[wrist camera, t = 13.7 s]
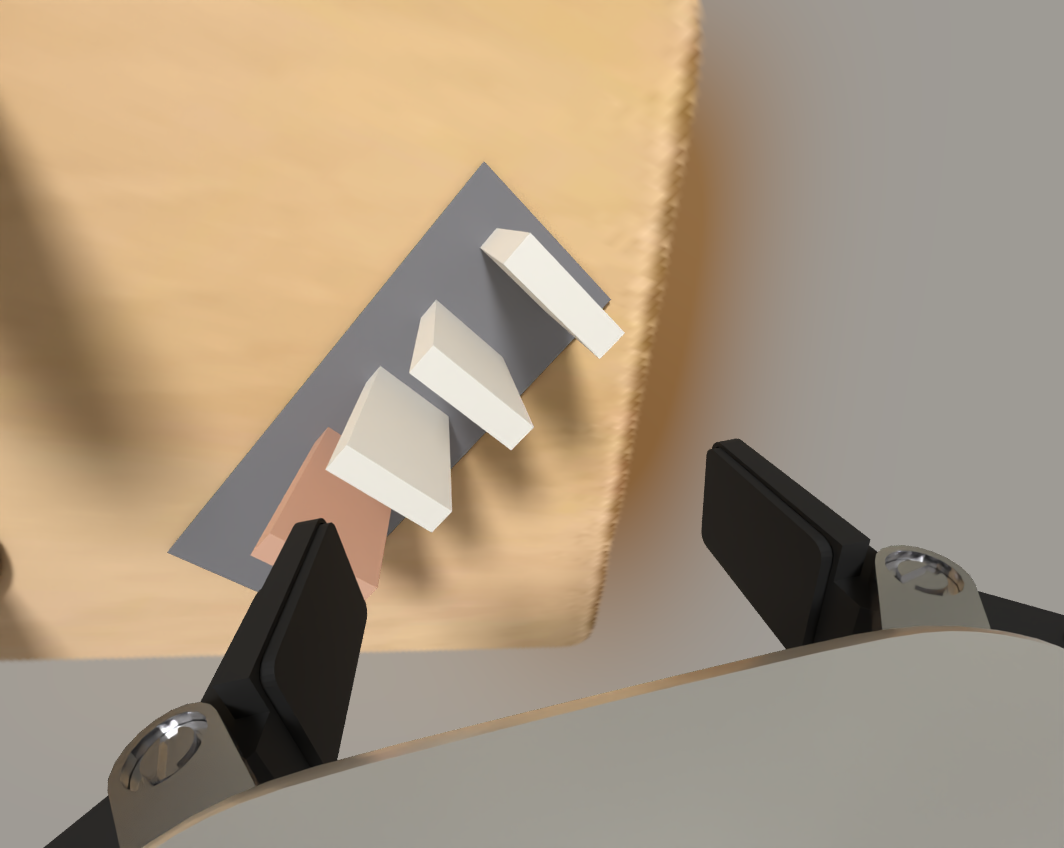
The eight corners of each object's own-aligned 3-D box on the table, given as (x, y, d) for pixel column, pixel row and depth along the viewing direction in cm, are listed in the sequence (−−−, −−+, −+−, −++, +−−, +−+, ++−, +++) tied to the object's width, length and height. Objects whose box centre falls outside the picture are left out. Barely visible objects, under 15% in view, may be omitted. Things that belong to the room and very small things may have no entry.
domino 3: (436, 299, 29) (433, 345, 19) (502, 357, 32) (533, 426, 21) (420, 317, 30) (409, 372, 19) (487, 373, 32) (511, 450, 21)
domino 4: (496, 228, 28) (530, 232, 17) (560, 293, 31) (625, 332, 20) (480, 247, 28) (503, 264, 18) (544, 311, 31) (599, 359, 20)
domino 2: (380, 365, 30) (346, 444, 20) (448, 416, 33) (452, 511, 22) (366, 382, 31) (325, 469, 20) (434, 431, 33) (431, 532, 22)
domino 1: (328, 426, 31) (269, 533, 21) (397, 471, 34) (377, 588, 23) (314, 442, 32) (250, 555, 21) (384, 485, 34) (358, 607, 24)
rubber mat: (483, 162, 27) (484, 161, 26) (608, 298, 32) (610, 299, 31) (170, 549, 34) (167, 552, 33) (313, 612, 38) (312, 615, 38)
